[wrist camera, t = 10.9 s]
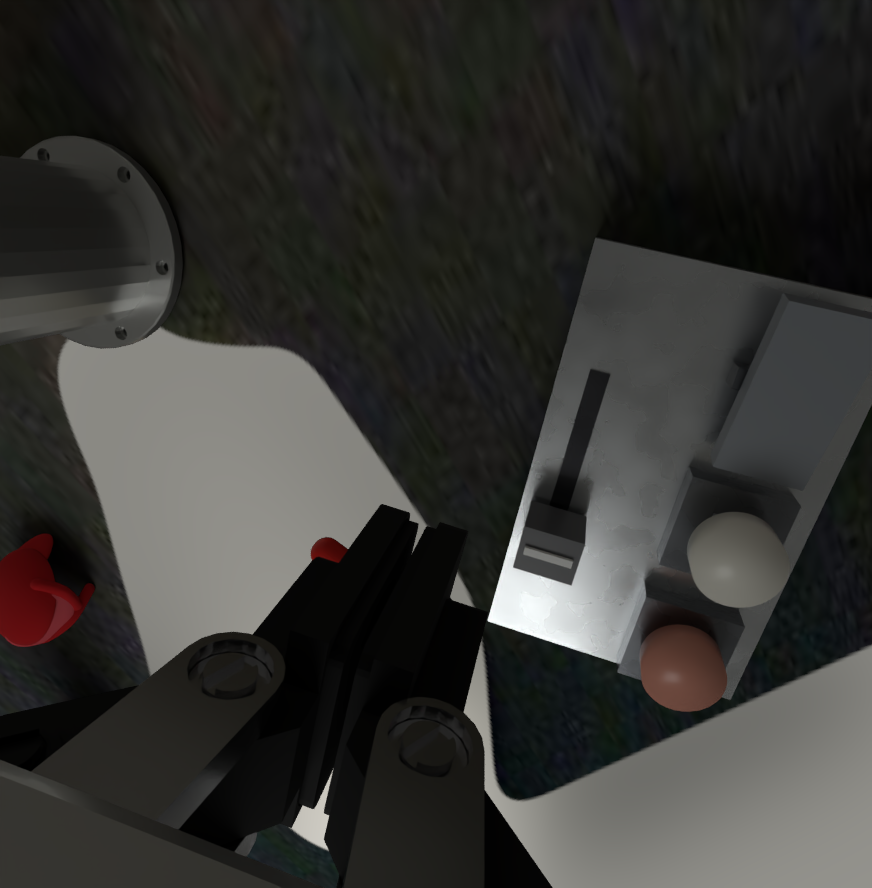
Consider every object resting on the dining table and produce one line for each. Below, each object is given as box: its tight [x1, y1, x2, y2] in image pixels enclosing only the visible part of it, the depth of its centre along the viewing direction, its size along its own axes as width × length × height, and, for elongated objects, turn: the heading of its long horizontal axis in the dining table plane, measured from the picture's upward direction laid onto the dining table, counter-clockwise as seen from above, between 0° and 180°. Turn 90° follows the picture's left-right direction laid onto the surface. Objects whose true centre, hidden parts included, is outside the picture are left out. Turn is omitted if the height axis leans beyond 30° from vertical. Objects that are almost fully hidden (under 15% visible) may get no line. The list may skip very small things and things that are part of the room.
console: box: [488, 237, 872, 700], centre depth 34 cm, size 14×22×6 cm, turn 168°
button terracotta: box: [640, 624, 727, 711], centre depth 33 cm, size 4×4×3 cm
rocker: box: [710, 293, 872, 491], centre depth 27 cm, size 4×8×1 cm, turn 168°
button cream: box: [687, 512, 790, 608], centre depth 30 cm, size 4×4×3 cm
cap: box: [0, 534, 95, 647], centre depth 48 cm, size 8×6×6 cm
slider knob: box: [513, 500, 587, 586], centre depth 33 cm, size 3×2×3 cm
